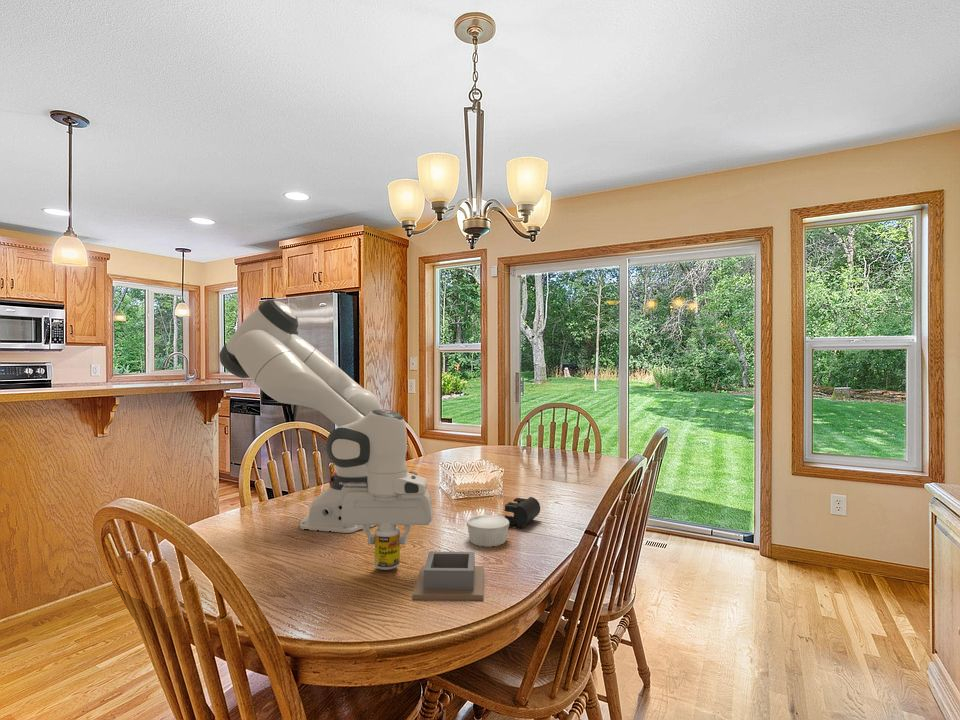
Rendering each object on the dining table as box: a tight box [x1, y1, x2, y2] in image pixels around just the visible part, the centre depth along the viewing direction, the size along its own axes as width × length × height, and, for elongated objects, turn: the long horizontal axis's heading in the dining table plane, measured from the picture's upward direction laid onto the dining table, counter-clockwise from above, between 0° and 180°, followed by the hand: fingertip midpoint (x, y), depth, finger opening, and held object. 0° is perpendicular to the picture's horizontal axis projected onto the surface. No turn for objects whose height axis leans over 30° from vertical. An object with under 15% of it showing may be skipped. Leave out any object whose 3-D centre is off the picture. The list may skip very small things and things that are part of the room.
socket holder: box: [411, 551, 485, 601], centre depth 109 cm, size 14×14×5 cm
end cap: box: [504, 496, 541, 529], centre depth 149 cm, size 10×7×7 cm
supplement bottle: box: [374, 523, 401, 571], centre depth 117 cm, size 6×6×10 cm
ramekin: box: [466, 514, 510, 548], centre depth 135 cm, size 11×11×5 cm
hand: (387, 543), depth 117 cm, fingers open, 5 cm apart
